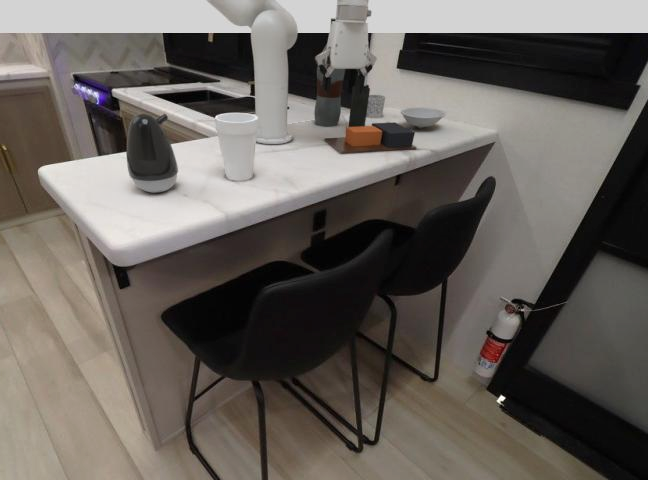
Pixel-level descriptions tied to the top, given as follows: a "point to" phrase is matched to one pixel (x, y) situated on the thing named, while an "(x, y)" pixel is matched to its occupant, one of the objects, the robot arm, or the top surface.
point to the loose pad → (363, 136)
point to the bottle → (329, 97)
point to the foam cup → (237, 143)
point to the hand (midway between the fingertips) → (342, 92)
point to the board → (347, 148)
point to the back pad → (395, 135)
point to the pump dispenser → (150, 154)
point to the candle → (359, 104)
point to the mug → (375, 106)
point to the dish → (422, 116)
